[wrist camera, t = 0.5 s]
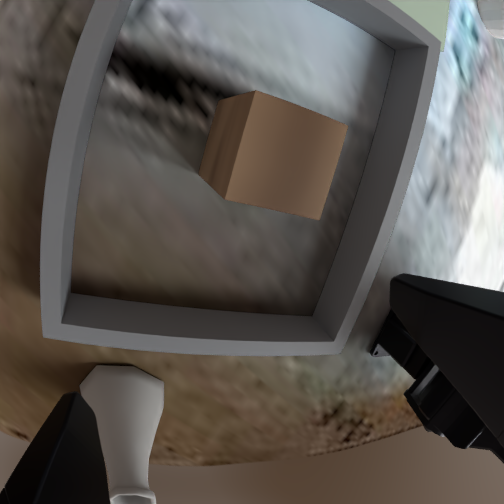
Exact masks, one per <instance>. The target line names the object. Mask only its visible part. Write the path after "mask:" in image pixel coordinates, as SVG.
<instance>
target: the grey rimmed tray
mask: <svg viewBox="0 0 504 504" xmlns="http://www.w3.org/2000/svg"><path fill="white" fill-rule="evenodd" d="M308 1H310V2H312V3H314V4H316V5H319V6H321V7H323V8H325V9H327V10H328V11H330V12H332V13H334V14H336V15H338V16H340V17H342V18H344V19H345V20H347V21H349V22H351V23H353V24H354V25H356V26H358V27H359V28H361V29H363V30H364V31H366V32H368V33H369V34H371V35H373V36H374V37H376V38H377V39H379V40H381V41H382V42H384V43H385V44H387V45H388V46H390V47H391V48H393V49H394V50H396V51H395V55H394V60H393V64H392V68H391V73H390V77H389V81H388V85H387V89H386V93H385V97H384V101H383V105H382V109H381V113H380V117H379V120H378V124H377V128H376V131H375V135H374V138H373V142H372V145H371V149H370V152H369V156H368V159H367V162H366V166H365V169H364V172H363V175H362V179H361V182H360V185H359V188H358V191H357V195H356V198H355V201H354V204H353V207H352V210H351V213H350V216H349V219H348V222H347V225H346V228H345V230H344V233H343V236H342V239H341V242H340V245H339V247H338V250H337V253H336V256H335V259H334V261H333V264H332V267H331V269H330V272H329V275H328V277H327V280H326V283H325V285H324V288H323V290H322V293H321V296H320V298H319V301H318V303H317V306H316V308H315V311H314V313H313V316H295V315H277V314H261V313H247V312H233V311H221V310H210V309H199V308H188V307H178V306H169V305H160V304H151V303H142V302H134V301H126V300H118V299H111V298H103V297H96V296H89V295H82V294H76V293H71V270H72V253H73V240H74V229H75V220H76V211H77V203H78V196H79V189H80V182H81V176H82V170H83V164H84V159H85V153H86V148H87V143H88V139H89V134H90V130H91V125H92V121H93V117H94V113H95V109H96V105H97V101H98V97H99V94H100V90H101V86H102V83H103V80H104V76H105V73H106V70H107V67H108V63H109V60H110V57H111V54H112V51H113V48H114V46H115V43H116V40H117V37H118V34H119V32H120V29H121V27H122V24H123V21H124V19H125V16H126V14H127V11H128V9H129V7H130V4H131V2H132V0H95V2H94V4H93V7H92V9H91V11H90V14H89V16H88V19H87V21H86V24H85V26H84V29H83V31H82V34H81V37H80V40H79V42H78V45H77V48H76V51H75V54H74V57H73V60H72V63H71V67H70V70H69V73H68V77H67V80H66V84H65V87H64V91H63V95H62V98H61V102H60V107H59V111H58V115H57V120H56V124H55V129H54V134H53V139H52V144H51V150H50V156H49V162H48V169H47V176H46V184H45V192H44V202H43V213H42V226H41V246H40V297H41V317H42V331H43V337H45V338H51V339H57V340H63V341H69V342H76V343H83V344H90V345H98V346H106V347H114V348H123V349H133V350H144V351H155V352H168V353H183V354H202V355H229V356H304V355H331V354H341V352H342V350H343V348H344V346H345V343H346V341H347V339H348V337H349V335H350V333H351V331H352V329H353V327H354V324H355V322H356V320H357V318H358V316H359V313H360V311H361V309H362V307H363V304H364V302H365V300H366V297H367V295H368V293H369V290H370V288H371V286H372V283H373V281H374V278H375V276H376V274H377V271H378V269H379V266H380V264H381V261H382V258H383V256H384V253H385V251H386V248H387V245H388V243H389V240H390V237H391V234H392V232H393V229H394V226H395V223H396V220H397V218H398V215H399V212H400V209H401V206H402V203H403V200H404V197H405V193H406V190H407V187H408V184H409V181H410V177H411V174H412V171H413V167H414V164H415V160H416V157H417V153H418V150H419V146H420V142H421V138H422V135H423V131H424V127H425V123H426V119H427V114H428V110H429V106H430V101H431V96H432V92H433V87H434V82H435V77H436V71H437V66H438V60H439V54H440V48H441V41H439V40H438V39H437V38H436V37H435V36H434V35H433V34H431V33H430V32H429V31H428V30H427V29H425V28H424V27H423V26H422V25H420V24H419V23H418V22H417V21H415V20H414V19H413V18H412V17H410V16H409V15H408V14H406V13H405V12H404V11H402V10H401V9H400V8H398V7H397V6H395V5H394V4H393V3H391V2H390V1H388V0H308Z"/></svg>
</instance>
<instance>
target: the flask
mask: <svg viewBox="0 0 504 504" xmlns="http://www.w3.org/2000/svg"><path fill="white" fill-rule="evenodd" d="M79 386H80V391H81V395H82V397H83V398H84V400H85V401H86V402H87V403H88V405H89V406H90V407H91V408H92V410H93V411H94V413H95V416H96V420H97V426H98V431H99V437H100V442H101V447H102V452H103V455H104V458H105V462H106V466H107V469H108V473H109V482H110V491H109V497H110V503H111V504H156V499H155V494H154V492H153V491H150V489H149V486H148V462H149V456H150V452H151V448H152V444H153V440H154V436H155V433H156V430H157V427H158V423H159V420H160V417H161V414H162V411H163V407H164V382H163V381H161V380H159V379H157V378H155V377H153V376H151V375H149V374H147V373H145V372H144V371H142V370H140V369H138V368H136V367H134V366H104V365H96V367H95V368H94V369H93V370H92V371H91V372H90V373H89V375H88V376H87V377H86V378H85V379H84V380H83V382H82V383H81V384H80V385H79Z"/></svg>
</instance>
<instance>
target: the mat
mask: <svg viewBox="0 0 504 504" xmlns="http://www.w3.org/2000/svg"><path fill="white" fill-rule="evenodd" d="M388 1H390V2H391V3H393V4H394V5H395V6H397V7H398V8H400V9H401V10H402V11H404V12H405V13H406V14H408V15H409V16H410V17H412V18H413V19H414V20H415V21H417V22H418V23H419V24H420V25H422V26H423V27H424V28H425V29H427V30H428V31H429V32H430V33H431V34H433V35H434V36H435V37H436V38H437V39H438V40H439V41H441V48H440V52H444V45H445V38H446V31H447V22H448V13H449V3H450V0H388Z"/></svg>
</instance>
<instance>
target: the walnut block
mask: <svg viewBox="0 0 504 504" xmlns="http://www.w3.org/2000/svg"><path fill="white" fill-rule="evenodd" d="M347 129H348V126H347V125H345V124H343V123H340V122H338V121H336V120H333V119H331V118H329V117H326V116H324V115H322V114H319V113H317V112H314V111H312V110H309V109H306V108H304V107H301V106H299V105H296V104H293V103H291V102H288V101H285V100H282V99H280V98H277V97H274V96H271V95H268V94H265V93H262V92H259V91H256V90H255V91H251V92H248V93H244V94H240V95H236V96H233V97H229V98H226V99H222V100H219V101H218V104H217V108H216V111H215V114H214V118H213V121H212V125H211V129H210V132H209V136H208V139H207V143H206V147H205V151H204V154H203V158H202V162H201V166H200V170H199V174H198V175H199V176H200V177H201V178H203V179H204V180H205V181H206V182H207V183H208V184H209V185H210V186H211V187H212V188H213V189H214V190H215V191H216V192H217V193H218V194H219V195H220V196H222V197H223V198H224V199H225V200H229V201H234V202H239V203H243V204H248V205H253V206H258V207H262V208H267V209H271V210H276V211H280V212H285V213H289V214H294V215H298V216H303V217H307V218H311V219H316V220H320V217H321V214H322V211H323V208H324V205H325V202H326V198H327V195H328V192H329V189H330V186H331V183H332V179H333V176H334V173H335V170H336V166H337V163H338V160H339V156H340V153H341V150H342V146H343V143H344V140H345V136H346V133H347Z"/></svg>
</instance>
